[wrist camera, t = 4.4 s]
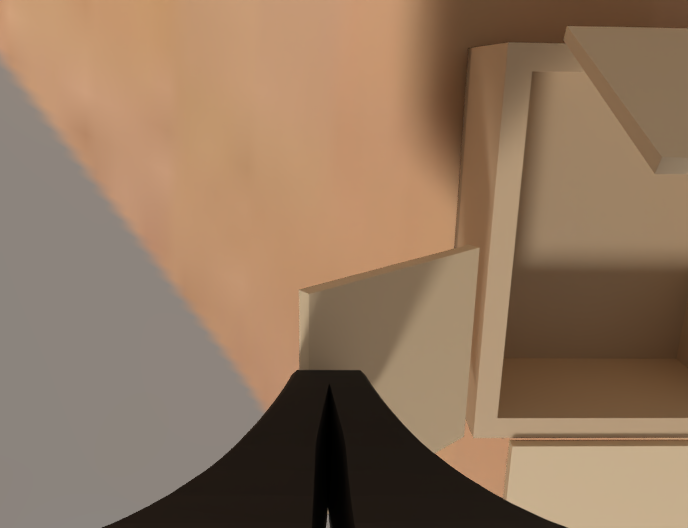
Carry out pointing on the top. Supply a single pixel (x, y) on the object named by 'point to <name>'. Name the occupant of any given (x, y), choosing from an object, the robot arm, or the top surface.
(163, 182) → the top surface
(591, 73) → the long flap
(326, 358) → the side flap
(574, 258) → the carton
